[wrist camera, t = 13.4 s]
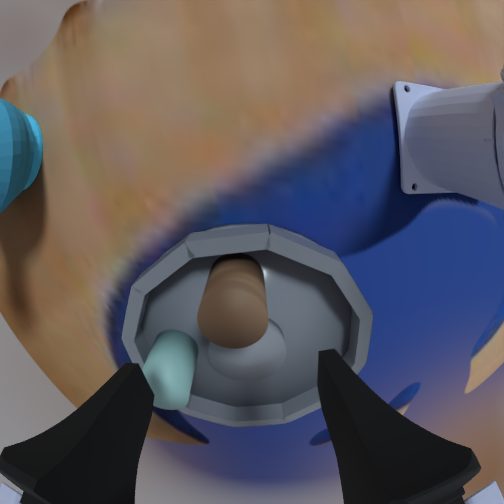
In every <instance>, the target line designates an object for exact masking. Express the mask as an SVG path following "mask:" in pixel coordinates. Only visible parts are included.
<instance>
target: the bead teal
mask: <svg viewBox="0 0 504 504" xmlns="http://www.w3.org/2000/svg"><path fill="white" fill-rule="evenodd" d="M198 353H199V349H198V345H197V343H196V342H195V340H194V339H193V338H192V337H191V336H189V335H188V334H186V333H184V332H182V331H178V330H165V331H162V332H160V333H159V334H158V335H157V336H156V338H155V341H154V343H153V345H152V348H151V350H150V352H149V355H148V357H147V359H146V362H145V364H144V367H143V369H142V371H143V373H144V375H145V377H146V379H147V381H148V383H149V385H150V387H151V389H152V391H153V393H154V395H155V396H154V403H153V406H155V407H158V408H161V409H166V410H177V409H181V408H183V407H185V406H186V405H187V403H188V400H189V395H190V390H191V386H192V381H193V376H194V371H195V367H196V362H197V357H198Z"/></svg>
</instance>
